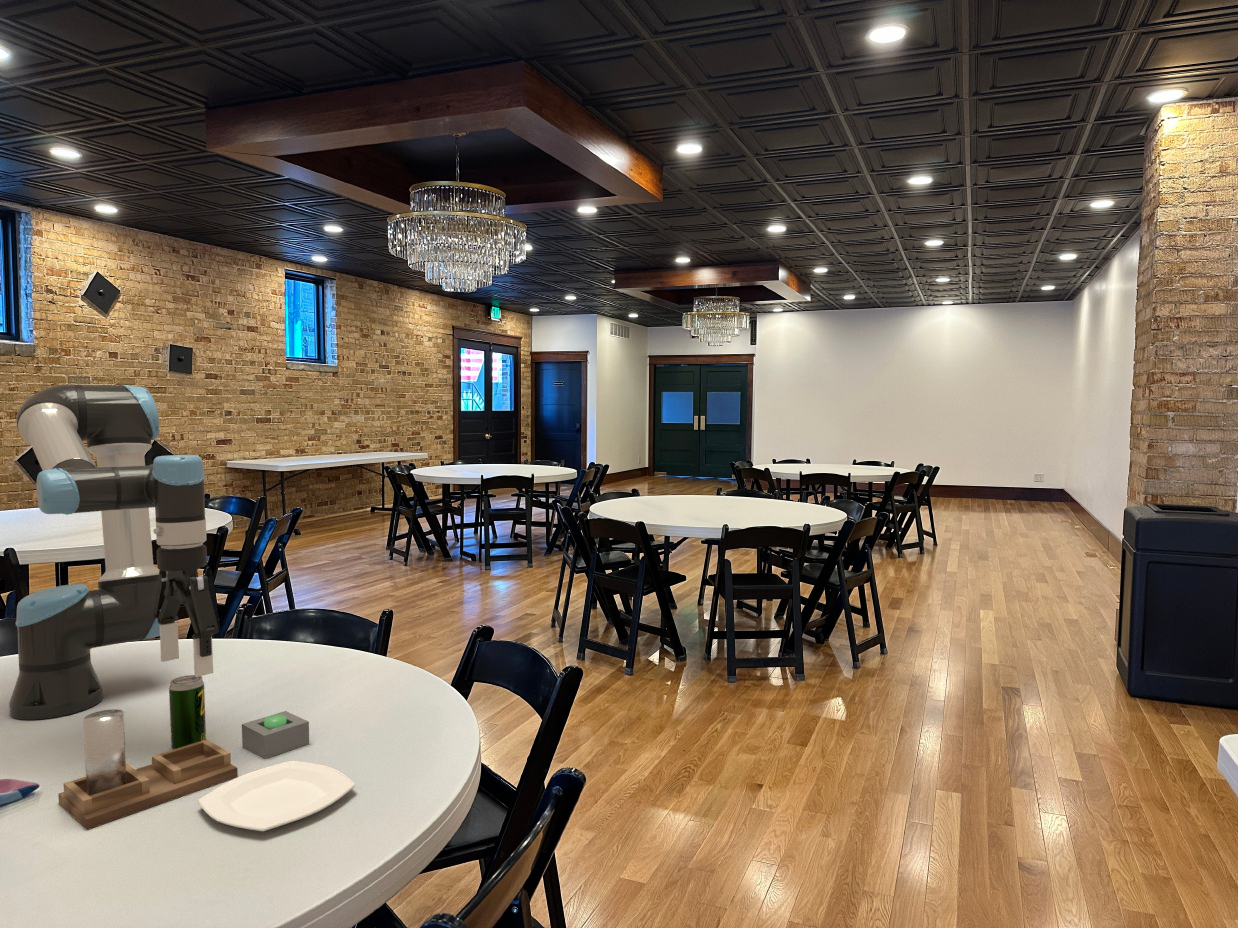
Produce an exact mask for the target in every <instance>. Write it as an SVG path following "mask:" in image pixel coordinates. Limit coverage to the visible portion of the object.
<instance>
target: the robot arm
mask: <svg viewBox="0 0 1238 928" xmlns="http://www.w3.org/2000/svg"><path fill="white" fill-rule="evenodd" d="M15 420H16V428H17V430H18V433H19V436H20V437H21V438H22V439H23V441H24V442H25V443H27V444H28V445H30V446H31V447H32V450H33V452H34V455H35V456H36V459H37V461H38V463H39V466H40V468H41V470H42V471H40V472H38V474H37V477H36V498H37V504H38V509H39V511H41V512H42V513H43V514H46V515H61V514H62V515H67V516H68V515H73V514H80V513H81V514H82V513H83V514H84V513H92V512H101V524H102V525H101V526H102V538H103V550H104V551H103V552H104V563H105V564H104V565H105V572H104V573H103V574H102V575H101V576H100V578H99V579H97V585H98V586H97V587H98V588H97V589H93V590H92V589H91V590H90V589H89V588H88V586H87V585H86V584H83V583H74V584H65V585H58V586H54V587H50V588H46V589H42V590H40V591H39V590H38V591H36V592H32V593H30V594H29V595H26V596H24V597H23V598H22V599H20V601H18V603H17V606H16V621H15V627H16V629H17V653H18V676H17V679H16V682H15V685H14V689H13V691H12V694H11V697H10V700H9V715H10V716H11V717H12V718H14V719H18V720H27V721H28V720H29V721H30V720H43V719H44V720H45V719H46V720H47V719H51V718H52V719H53V718H58V717H64V716H67V715H71V714H75V713H79V712H82V711H84V710H87V709H90V708H93V707H94V706H96V705H97V704H99V703H101V702H102V700H103V699H104V698H103V697H104V696H103V694H104V693H103V685H102V684H101V682H100V680H99V677H98V675H97V673H96V671H95V668H94V666H93V664H92V661H91V660H92V659H91V650H92V649H95V648H100V647H106V646H107V647H108V646H112V645H119V644H125V643H126V644H127V643H129V642H130V643H131V642H135V641H145V640H147V639H152V638H153V639H154V638H157V637H159V639H160V640H159V643H160V661H161V662H162V663H165V662H168V661H173V660H174V661H175V660H177V659H180V652H179V650H180V649H179V625H178V623H179V620H180V619H179V616H178V613H179V610H180V607H181V605H183V606H184V607H185V609H186V612H187V615H188V617H189V620H190V623H191V626H192V629H193V635H192V636H191V639H192V642H193V643H192V644H193V645H192V646H193V665H194V666H193V671H194V675H195V677H199V676H202V677H203V676H207V675H211V674H214V660H213V659H214V657H213V656H214V655H213V654H214V653H213V636H214V635H215V634H219V631H220V630H219V625H218V621H217V616H216V613H215V609H214V604H213V601H212V597H211V592H210V588H209V587H210V585H209V578H208V576H207V575H204V576H203V575H202V576H199V572H198V570H199V569H200V568H203V567H206V565H207V564H208V558H207V557H208V554H207V545H206V544H204V543H205V542H206V541H207V519H206V507H205V505H206V503H205V478H206V474H205V471H204V464H203V459H202V457H201V456H199V455H195V454H192V455H191V454H178V455H173V454H172V455H161V456H156V457H155V458H154V459H153V464H149V465H146V462H145V455H146V453H147V452H148V451H150V450H151V448H152V447H153V446H152V441H154V440H157V439H158V438H159V437H160V431H161V428H160V425H161V423H160V415H159V411H158V407H157V404H156V402H155V399H154V396H153V395H152V394H151V392H150V391H149V390H148V389H146V388H145V387H142V386H135V385H134V386H133V385H125V384H121V385H120V384H60V385H53V386H49V387H47V388H45V389H42V390H40V391H37V392H36V393H34V394H33V395H31V396H29V397H28V398H27V399H26V400H25V401H24V403H23V404H22V405H21V406H20V408H19V410H18V412H17V414H16V419H15ZM83 441H84V442H86V445H85V444H84V442H83ZM86 446H87V448H86ZM89 452H90V453H91V454H92V455H93V456H94V457H96V462H97V466H96V464H95V462H94V460H93V459H92V457H91V455H90V453H89ZM152 508H154V510H155V511H154V513H155V528H153V530H152V531H151V521H150V509H152ZM151 532H153V534H154V535H156V536H155V537H156V544H157V545H158V546H160V547H158V548H157V549H156V566H155V565H154V559H153V558H154V555H153V545H152V535H151ZM177 621H178V622H177Z"/></svg>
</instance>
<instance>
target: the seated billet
mask: <svg viewBox="0 0 1238 928" xmlns="http://www.w3.org/2000/svg"><path fill="white" fill-rule="evenodd" d="M124 713H125V712H124V711H123V710H122V709H117V708H116V709H103V710H98V711H95V712H92V713H89V714H87V715H86V716H84V717H83V719H82V720H83V735H84V736H83V738H84V742H83V743H84V759H85V761H84V762H85V777H86V788H87V795H89V796H91V795H94V794H98V793H101V792H104V791H107V790H110V789H113V788H116V787H119V786H122V785H125V784H127V781H126V764H127V762H126V761H127V760H126V758H127V757H126V743H125V742H126V737H125V714H124Z"/></svg>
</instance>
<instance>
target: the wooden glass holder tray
mask: <svg viewBox="0 0 1238 928" xmlns="http://www.w3.org/2000/svg"><path fill="white" fill-rule="evenodd" d="M231 761H232V760H231V752H229V751H227V750H226V749H225V748H222V747H221V746H219V745H217V744H216V743H214V742H212V741H210V740H208V739H207V738H206V740H203V741H200V742H197V743H193V744H190V745H187V746H184V747H180V748H177V749H174V750H173V749H171V750H168V751H165V752H161V753H158V754H155V755H152V756H151V764H148V765H145V766H142V767H139V768H136V769H135V767H132V766H131V765H130V764H129V763H126V781H127V784H125V785H122V786H119V787H116V788H113V789H110V790H107V791H104V792H101V793H98V794H94V795H91V796H89V795H87V788H86V776H83V777H79V778H76V779H73V780H71V781H67V782H64V783H63V792H62V791H61V792H59V793H58V795H57V797H58V798H57V799H58V804H59V806H61V807H62V808H63V809H64V810H66V812H68V814H69V815H70V816H71V817H73V818H74V819H75V820H76V821H77V823H79V824H80V825H82V827H84V829H86V831H87V830H90V829H93V828H96V827H100V826H102V825H105V824H108V823H111V822H113V821H116V820H118V819H121V818H124V817H127V816H130V815H134V814H136V813H138V812H139V813H140V812H141V811H146V810H148V809H150V808H152V807H155V806H158V805H161V804H164V803H167V802H170V801H172V800H176V799H178V798H182V797H183V796H184V797H185V796H186V795H190V794H192V793H196V792H199V791H201V790H204V789H207V788H210V787H214V786H215V785H218V784H221V783H224V782H228V781H229V780H230V781H231V780H233V779H235V778H238V777H239V776H238V774H239V773H238V772H239V771H238V767H237V766H235V765H234V764H232V762H231Z"/></svg>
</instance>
